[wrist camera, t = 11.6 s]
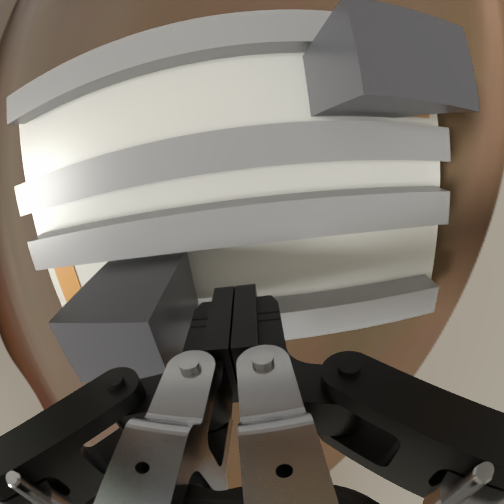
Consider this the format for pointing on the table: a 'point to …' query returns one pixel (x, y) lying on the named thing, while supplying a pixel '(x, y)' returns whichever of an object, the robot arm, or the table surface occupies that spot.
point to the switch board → (231, 173)
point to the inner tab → (388, 64)
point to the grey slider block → (128, 316)
